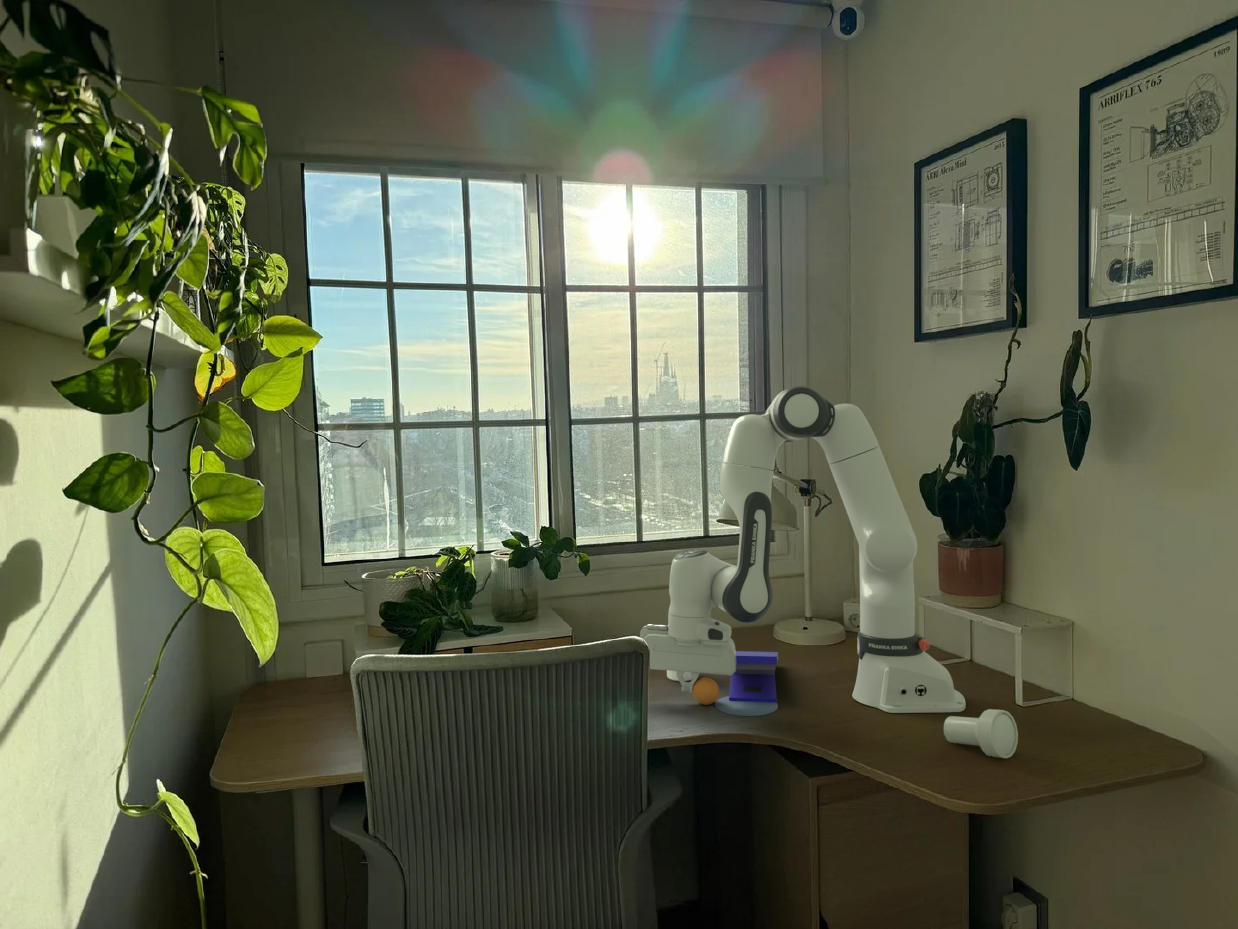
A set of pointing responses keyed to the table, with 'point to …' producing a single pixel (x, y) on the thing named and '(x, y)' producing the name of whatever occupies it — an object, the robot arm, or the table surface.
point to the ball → (705, 691)
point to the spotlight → (985, 732)
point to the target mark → (745, 707)
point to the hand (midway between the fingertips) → (687, 692)
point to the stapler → (754, 677)
